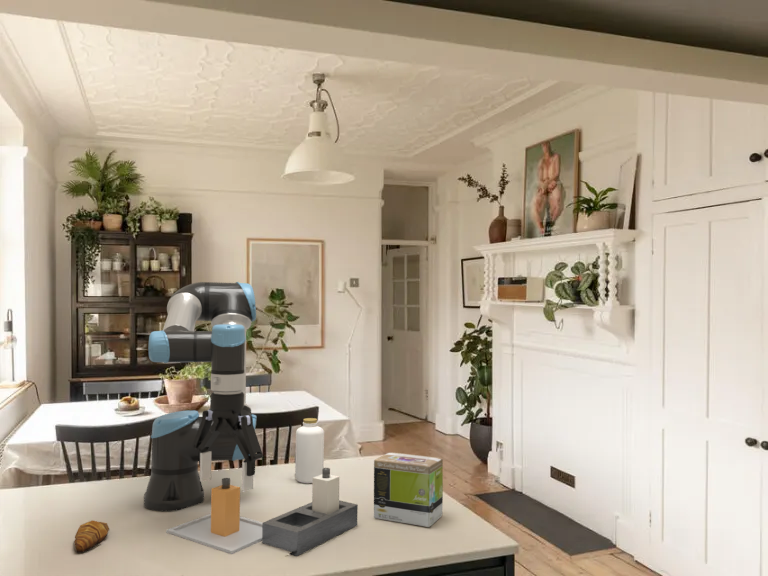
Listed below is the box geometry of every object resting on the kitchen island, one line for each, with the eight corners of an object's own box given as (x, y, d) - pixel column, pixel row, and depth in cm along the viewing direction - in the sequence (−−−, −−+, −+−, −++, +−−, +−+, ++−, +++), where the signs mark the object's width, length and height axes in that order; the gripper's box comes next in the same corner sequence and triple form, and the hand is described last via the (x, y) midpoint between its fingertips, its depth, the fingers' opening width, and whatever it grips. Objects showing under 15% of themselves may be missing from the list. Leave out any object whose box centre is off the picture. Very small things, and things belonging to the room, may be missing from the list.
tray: (166, 535, 146) (166, 529, 146) (219, 515, 160) (219, 510, 160) (231, 556, 135) (231, 551, 135) (283, 533, 148) (283, 528, 148)
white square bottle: (311, 520, 151) (312, 469, 151) (323, 515, 155) (324, 465, 155) (327, 524, 149) (327, 472, 149) (338, 518, 152) (339, 468, 152)
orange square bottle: (210, 532, 146) (211, 479, 147) (225, 526, 150) (226, 475, 150) (224, 536, 144) (225, 483, 144) (239, 530, 148) (240, 478, 148)
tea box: (443, 516, 162) (444, 457, 162) (429, 529, 152) (430, 466, 153) (388, 506, 168) (389, 450, 168) (372, 518, 159) (373, 458, 159)
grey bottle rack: (262, 545, 141) (262, 522, 141) (324, 517, 159) (324, 496, 159) (296, 556, 135) (297, 532, 136) (357, 525, 154) (357, 504, 154)
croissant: (88, 531, 148) (89, 510, 148) (118, 531, 148) (119, 510, 148) (61, 555, 135) (62, 531, 135) (94, 555, 135) (95, 531, 135)
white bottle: (318, 485, 185) (319, 422, 186) (291, 483, 187) (292, 421, 187) (326, 477, 194) (327, 417, 194) (300, 475, 195) (301, 416, 195)
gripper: (178, 389, 151) (176, 479, 150) (255, 398, 137) (254, 498, 137) (202, 385, 157) (201, 472, 157) (279, 394, 144) (278, 490, 143)
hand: (225, 485), depth 147 cm, fingers open, 13 cm apart
